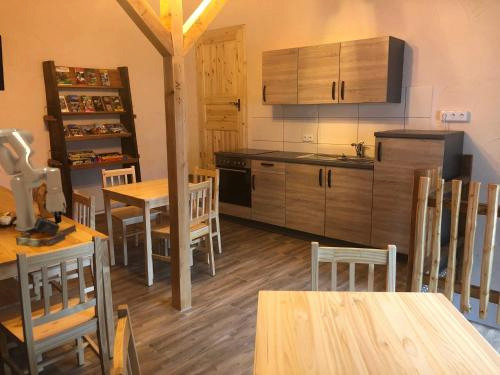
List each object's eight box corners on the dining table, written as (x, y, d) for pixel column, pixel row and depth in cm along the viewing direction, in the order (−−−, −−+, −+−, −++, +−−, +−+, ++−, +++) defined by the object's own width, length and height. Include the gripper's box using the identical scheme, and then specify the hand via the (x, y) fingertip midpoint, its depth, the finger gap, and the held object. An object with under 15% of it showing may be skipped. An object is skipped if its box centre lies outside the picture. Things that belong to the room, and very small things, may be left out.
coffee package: (40, 219, 264) (36, 184, 259) (38, 214, 274) (34, 181, 270) (57, 216, 269) (53, 183, 264) (55, 212, 279) (51, 179, 275)
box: (59, 226, 232) (40, 220, 225) (55, 236, 232) (35, 229, 225) (57, 222, 238) (38, 216, 232) (52, 231, 238) (33, 225, 232)
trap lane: (9, 243, 220) (8, 237, 219) (48, 228, 245) (47, 222, 245) (46, 247, 213) (45, 241, 213) (82, 231, 239) (81, 225, 238)
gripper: (38, 191, 231) (42, 223, 235) (61, 192, 227) (64, 225, 230) (48, 188, 238) (52, 219, 242) (70, 189, 234) (74, 221, 237)
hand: (58, 222), depth 236 cm, fingers closed
